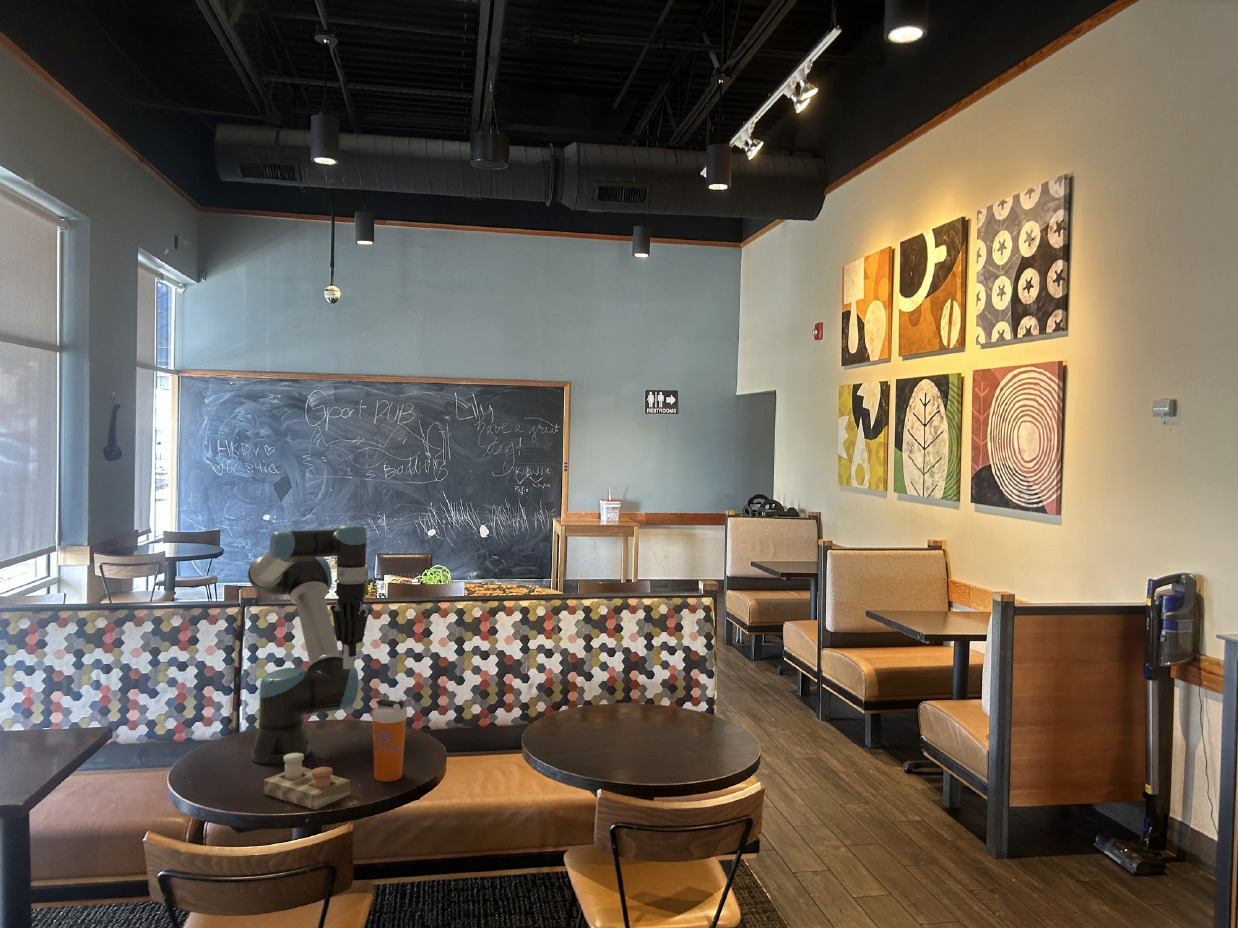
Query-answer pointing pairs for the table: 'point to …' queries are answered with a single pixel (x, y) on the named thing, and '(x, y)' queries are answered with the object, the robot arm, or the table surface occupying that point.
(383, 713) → the shaker bottle
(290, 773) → the plug cream
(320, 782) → the plug rust
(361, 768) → the table surface
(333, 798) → the socket board
